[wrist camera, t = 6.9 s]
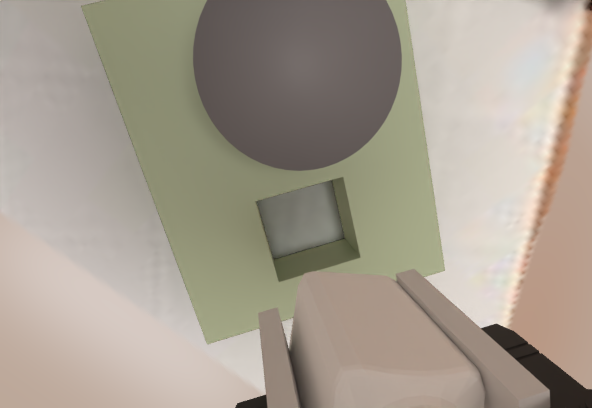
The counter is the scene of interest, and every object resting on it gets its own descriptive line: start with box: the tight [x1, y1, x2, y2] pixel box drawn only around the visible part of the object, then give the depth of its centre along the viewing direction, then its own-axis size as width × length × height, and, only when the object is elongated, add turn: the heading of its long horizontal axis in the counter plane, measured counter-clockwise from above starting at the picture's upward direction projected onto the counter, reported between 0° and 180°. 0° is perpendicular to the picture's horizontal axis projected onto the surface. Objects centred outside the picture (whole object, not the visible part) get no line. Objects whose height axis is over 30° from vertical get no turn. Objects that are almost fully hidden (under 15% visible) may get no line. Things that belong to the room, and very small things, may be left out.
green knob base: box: [81, 0, 445, 344], centre depth 23 cm, size 22×18×9 cm
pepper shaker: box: [289, 271, 485, 408], centre depth 11 cm, size 4×4×10 cm
